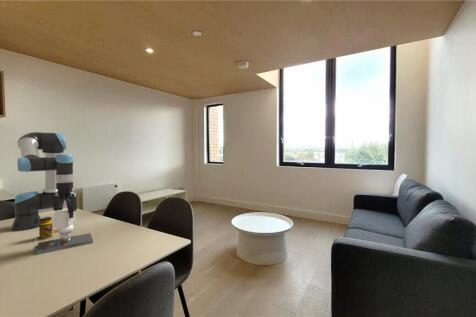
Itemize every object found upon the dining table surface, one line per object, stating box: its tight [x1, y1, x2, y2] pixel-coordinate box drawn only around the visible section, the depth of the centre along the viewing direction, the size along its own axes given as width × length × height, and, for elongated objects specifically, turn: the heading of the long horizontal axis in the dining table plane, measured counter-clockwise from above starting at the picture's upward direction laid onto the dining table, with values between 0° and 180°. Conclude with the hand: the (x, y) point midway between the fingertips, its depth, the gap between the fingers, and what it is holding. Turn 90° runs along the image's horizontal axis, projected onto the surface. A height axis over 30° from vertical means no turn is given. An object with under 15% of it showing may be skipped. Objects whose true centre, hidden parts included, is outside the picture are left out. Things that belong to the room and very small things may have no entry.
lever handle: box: [53, 208, 77, 234], centre depth 125 cm, size 10×7×12 cm
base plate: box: [35, 231, 94, 255], centre depth 126 cm, size 14×24×7 cm, turn 128°
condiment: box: [33, 216, 55, 242], centre depth 135 cm, size 7×8×12 cm
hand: (65, 223), depth 126 cm, fingers closed on lever handle, 5 cm apart
